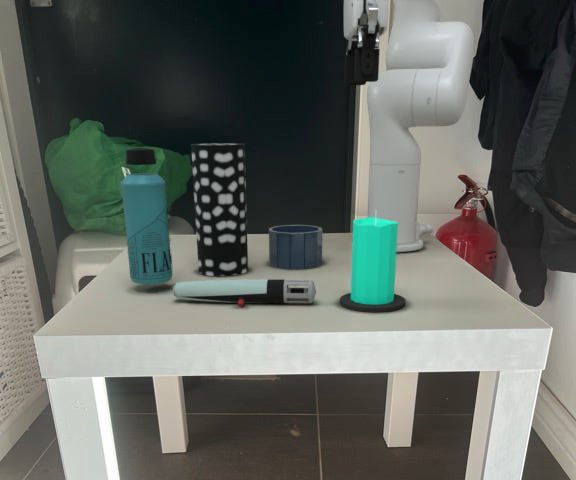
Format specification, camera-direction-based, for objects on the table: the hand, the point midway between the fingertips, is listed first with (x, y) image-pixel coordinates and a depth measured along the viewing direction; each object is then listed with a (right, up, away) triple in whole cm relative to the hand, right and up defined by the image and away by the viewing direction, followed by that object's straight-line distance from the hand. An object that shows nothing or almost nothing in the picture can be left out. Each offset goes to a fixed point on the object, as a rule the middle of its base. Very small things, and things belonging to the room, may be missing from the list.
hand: (360, 83), depth 93 cm
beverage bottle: (-31, -29, +4) cm, 43 cm away
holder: (-9, -22, +21) cm, 32 cm away
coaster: (+1, -32, -4) cm, 33 cm away
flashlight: (-17, -32, -4) cm, 37 cm away
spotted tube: (-21, -25, +16) cm, 36 cm away
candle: (+1, -32, -4) cm, 32 cm away
